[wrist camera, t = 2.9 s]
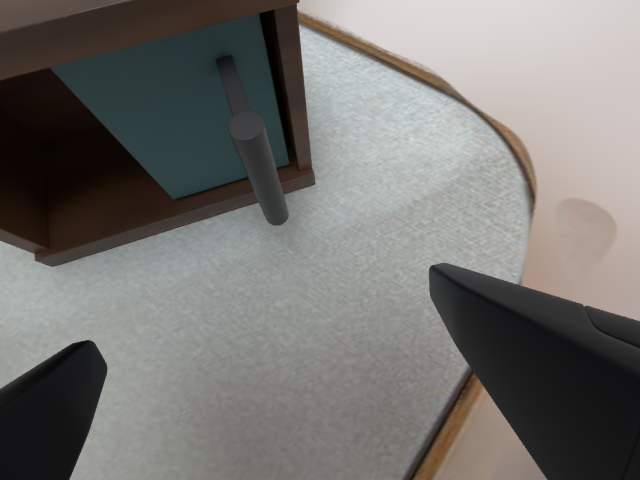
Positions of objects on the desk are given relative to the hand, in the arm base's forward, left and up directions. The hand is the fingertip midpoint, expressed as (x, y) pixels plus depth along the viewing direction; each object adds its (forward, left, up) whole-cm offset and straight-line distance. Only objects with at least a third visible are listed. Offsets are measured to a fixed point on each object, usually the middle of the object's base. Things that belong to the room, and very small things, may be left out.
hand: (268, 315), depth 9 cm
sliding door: (+9, -5, -11) cm, 15 cm away
